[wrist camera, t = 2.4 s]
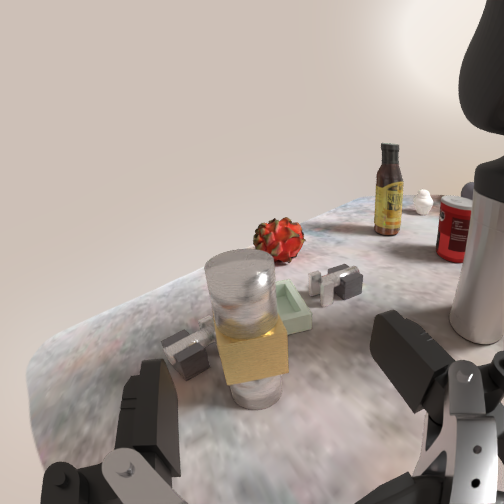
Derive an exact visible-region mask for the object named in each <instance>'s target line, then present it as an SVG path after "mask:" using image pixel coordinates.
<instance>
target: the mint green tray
mask: <svg viewBox="0 0 504 504" xmlns="http://www.w3.org/2000/svg"><path fill="white" fill-rule="evenodd" d="M276 296H277V311H278V314H279V316H280V318H281V320H282V322H283V324H284V326H285V328H286V330H287V335H289V334H294V333H298V332H302V331H306V330H310V329H312V313H311V311H310V310H309V308H308V307H307V305H306V303H305V302H304V300H303V299H302V297H301V296H300V294H299V293H298V291H297V290H296V288H295V286H294V285H293V283H292V282H291V280H290V279H287V280H282V281H277V282H276Z"/></svg>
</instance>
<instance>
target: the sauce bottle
mask: <svg viewBox="0 0 504 504" xmlns="http://www.w3.org/2000/svg"><path fill="white" fill-rule="evenodd" d="M381 150H382V165H381V167H380V168H379V170H378V172H377V184H376V199H375V217H374V223H375V227H374V230H375V231H376V232H377V233H379V234H382V235H396V234H397V233H398V232H399V229H400V225H401V213H402V199H403V179H402V175H401V172H400V168H399V161H398V152H399V145H398V144H391V143H381Z"/></svg>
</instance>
